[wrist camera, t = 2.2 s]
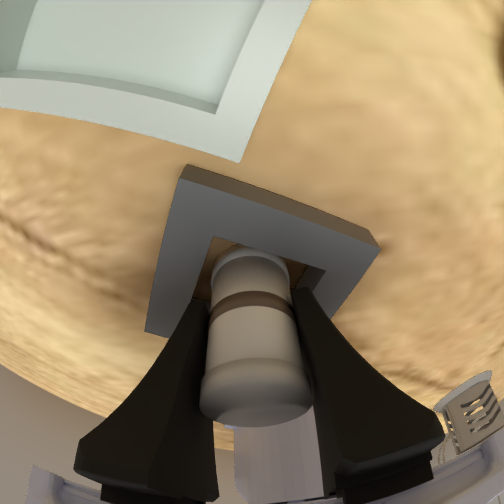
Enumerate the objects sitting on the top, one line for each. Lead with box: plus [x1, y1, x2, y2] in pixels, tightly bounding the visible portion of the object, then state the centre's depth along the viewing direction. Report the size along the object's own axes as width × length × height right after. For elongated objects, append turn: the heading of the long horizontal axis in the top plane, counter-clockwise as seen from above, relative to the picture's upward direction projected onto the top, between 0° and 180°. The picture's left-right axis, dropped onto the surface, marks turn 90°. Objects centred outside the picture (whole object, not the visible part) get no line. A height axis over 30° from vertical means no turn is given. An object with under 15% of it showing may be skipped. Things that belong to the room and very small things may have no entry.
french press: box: [434, 371, 504, 504], centre depth 16 cm, size 10×12×25 cm
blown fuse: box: [199, 244, 313, 427], centre depth 10 cm, size 3×3×6 cm
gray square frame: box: [144, 164, 381, 338], centre depth 12 cm, size 8×8×2 cm
